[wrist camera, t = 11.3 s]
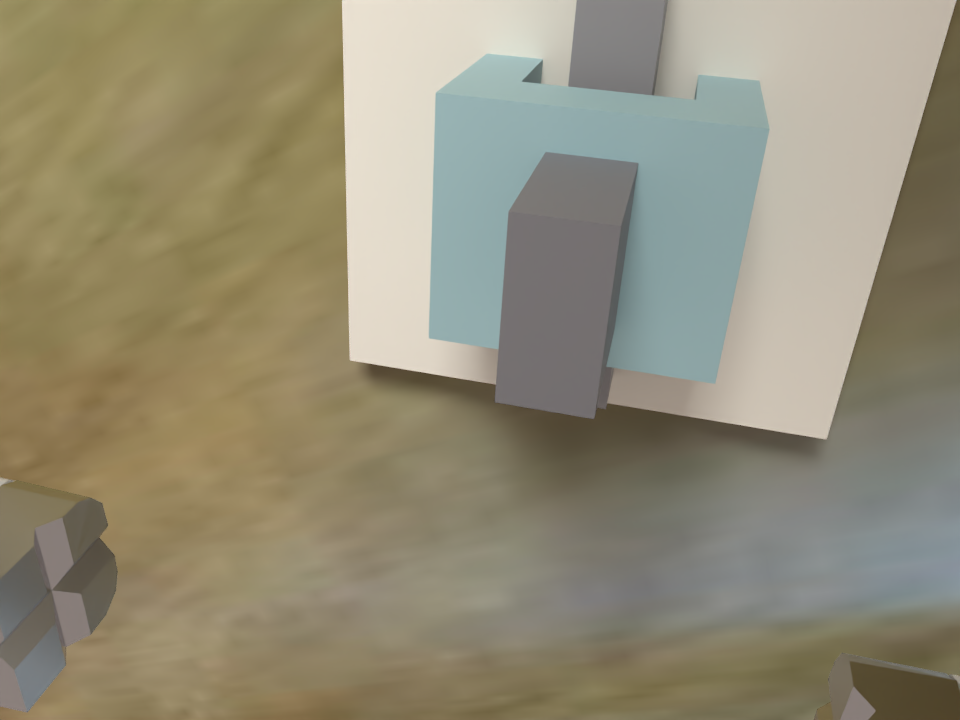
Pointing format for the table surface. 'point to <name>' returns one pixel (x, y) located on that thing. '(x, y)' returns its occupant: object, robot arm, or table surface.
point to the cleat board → (670, 73)
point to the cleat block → (589, 227)
